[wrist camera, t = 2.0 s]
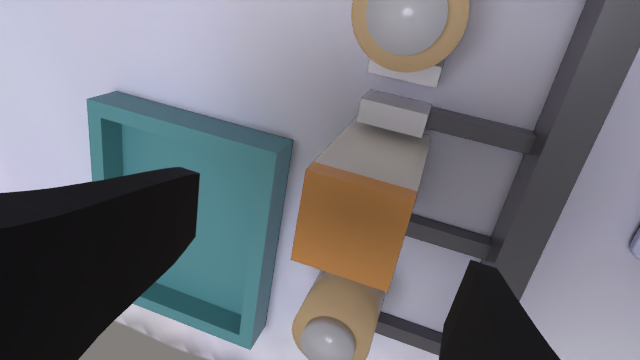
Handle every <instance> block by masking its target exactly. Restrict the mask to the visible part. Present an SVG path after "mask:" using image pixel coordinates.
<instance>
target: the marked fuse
mask: <svg viewBox="0 0 640 360" xmlns="http://www.w3.org/2000/svg"><path fill="white" fill-rule="evenodd" d="M431 139H432V136H431V135H427V134H423V136H422V138H419V137H415V136H411V135H407V134H403V133H400V132H396V131H392V130H388V129H384V128H380V127H376V126H372V125H369V124H365V123H361V122H357V116H356V117H355V118H354V120H353V121H352V122H351V123H350V124H349V125H348V126H347V127H346V128H345V129H344V130H343V131H342V132H341V133H340V134H339V135H338V136H337V137H336V139H335V140H334V141H333V142H332V143H331V144H330V145H329V146H328V147H327V148H326V149H325V150H324V151H323V152H322V153H321V154H320V155H319V156H318V158H317V159H316V160H315V161H314V162H313V163H312V164H311V165H310V166H309V167H308V168H307V169H306V172H305V178H304V184H303V190H302V196H301V201H300V207H299V213H298V219H297V225H296V231H295V237H294V243H293V249H292V255H291V260H294V261H297V262H299V263H302V264H305V265H308V266H311V267H314V268H317V269H320V270H323V271H326V272H329V273H332V274H335V275H338V276H341V277H344V278H347V279H350V280H353V281H356V282H358V283H361V284H364V285H367V286H370V287H373V288H376V289H379V290H382V291H385V292H388V290H389V287H390V283H391V280H392V277H393V273H394V270H395V267H396V263H397V260H398V257H399V253H400V250H401V247H402V243H403V240H404V237H405V233H406V230H407V227H408V223H409V220H410V217H411V213H412V210H413V207H414V203H415V200H416V196H417V192H418V188H419V185H420V181H421V177H422V173H423V169H424V166H425V162H426V158H427V154H428V150H429V146H430V143H431Z"/></svg>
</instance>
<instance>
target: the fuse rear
mask: <svg viewBox="0 0 640 360" xmlns="http://www.w3.org/2000/svg"><path fill="white" fill-rule="evenodd" d="M385 293H386V292H385V291H382V290H379V289H376V288H373V287H370V286H367V285H364V284H361V283H358V282H356V281H353V280H350V279H347V278H344V277H341V276H338V275H335V274H332V273H329V272H326V271H323V270H321V271H320V273H319V275H318V277H317V278H316V280H315V282H314V284H313V286H312V288H311V289H310V291H309V293H308V295H307V297H306V298H305V300H304V302H303V304H302V306H301V308H300V309H299V311H298V313H297V315H296V317H295V319H294V321H293V325H292V334H293V338H294V341H295V343H296V345H297V346H298V348H299V349H300V351H301V352H302V353H303V354H304V355H305V356H306V357H307V358H308V359H309V360H365V359H366V358H367V356H368V353H369V350H370V347H371V343H372V339H373V336H374V332H375V329H376V325H377V322H378V318H379V315H380V311H381V308H382V304H383V300H384V297H385Z"/></svg>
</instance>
